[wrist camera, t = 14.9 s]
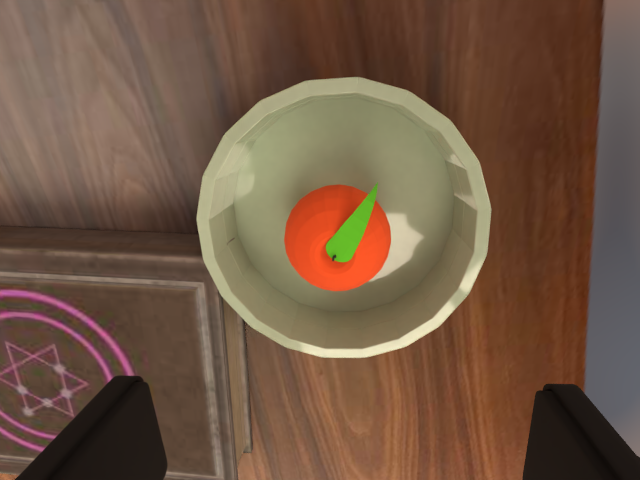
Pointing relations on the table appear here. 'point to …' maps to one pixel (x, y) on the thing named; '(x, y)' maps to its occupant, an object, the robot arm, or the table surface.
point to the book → (120, 343)
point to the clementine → (337, 237)
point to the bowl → (362, 173)
